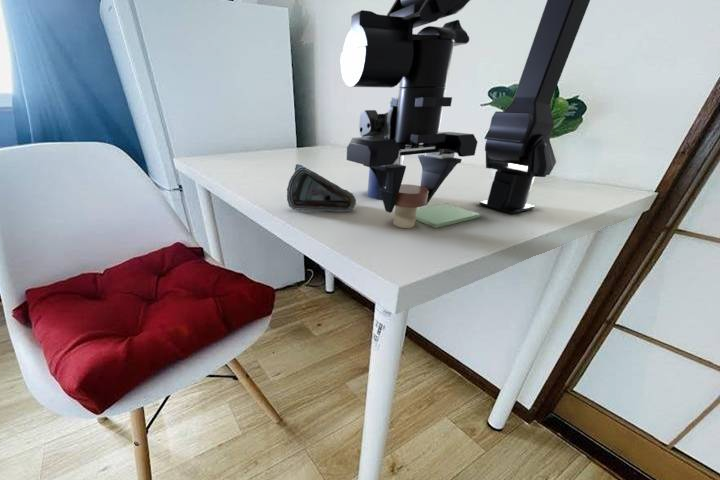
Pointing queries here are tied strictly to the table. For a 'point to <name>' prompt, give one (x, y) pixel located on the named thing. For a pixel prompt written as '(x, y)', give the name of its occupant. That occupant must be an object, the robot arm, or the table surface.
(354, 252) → the table surface
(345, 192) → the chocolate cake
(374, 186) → the can
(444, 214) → the napkin
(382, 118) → the robot arm
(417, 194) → the mushroom
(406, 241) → the table surface
